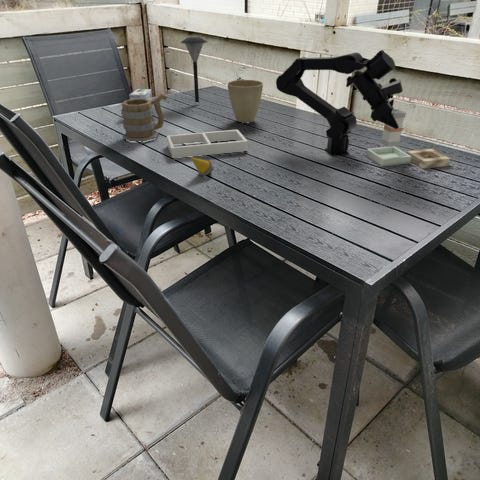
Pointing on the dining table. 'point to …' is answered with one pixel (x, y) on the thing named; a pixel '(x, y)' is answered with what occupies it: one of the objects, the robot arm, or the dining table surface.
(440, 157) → the collar block
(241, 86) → the plant pot
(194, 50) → the solar garden light
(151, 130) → the tankard
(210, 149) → the parts bin
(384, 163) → the tray
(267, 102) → the dining table surface
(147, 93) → the light bulb box
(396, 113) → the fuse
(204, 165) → the yellow tapered piece
